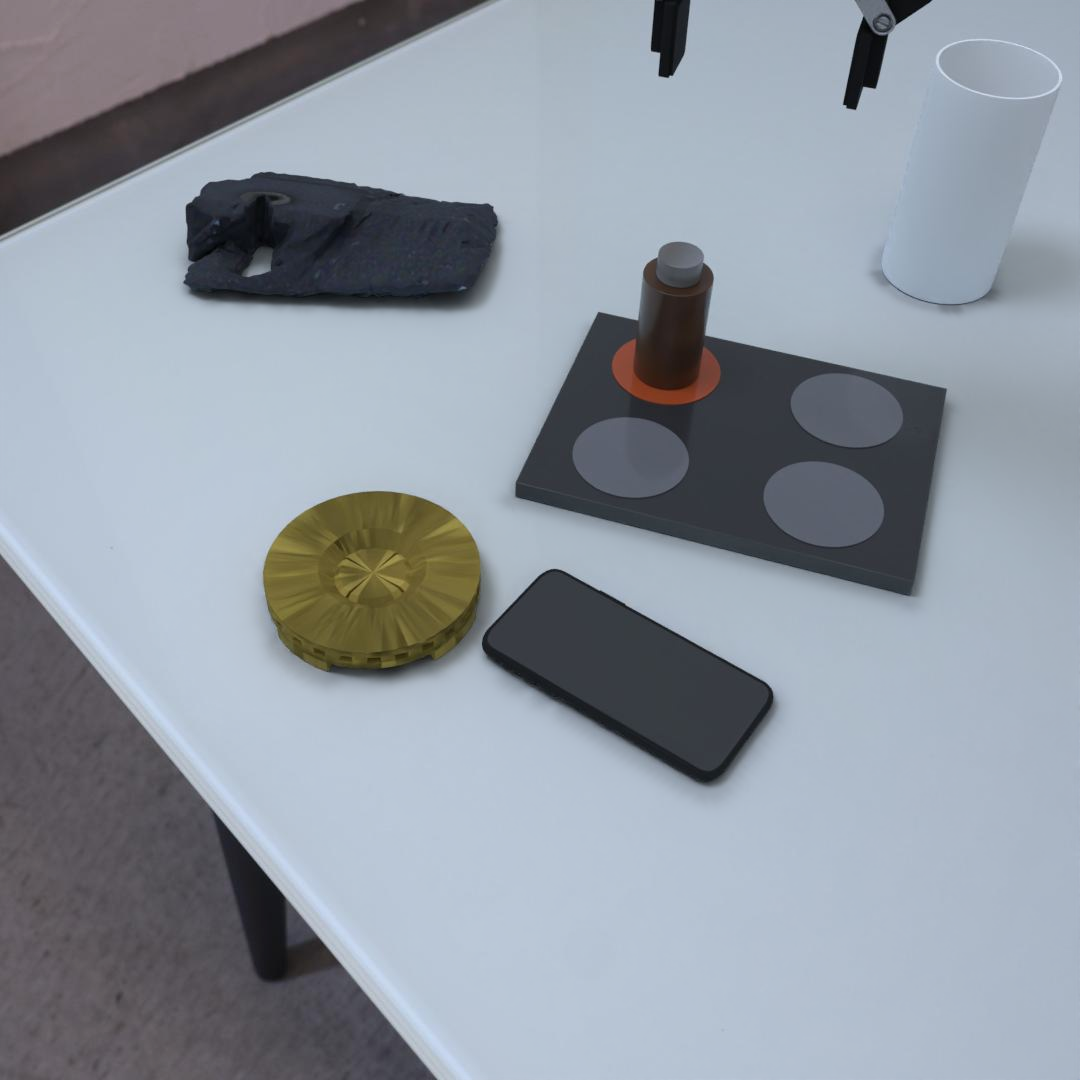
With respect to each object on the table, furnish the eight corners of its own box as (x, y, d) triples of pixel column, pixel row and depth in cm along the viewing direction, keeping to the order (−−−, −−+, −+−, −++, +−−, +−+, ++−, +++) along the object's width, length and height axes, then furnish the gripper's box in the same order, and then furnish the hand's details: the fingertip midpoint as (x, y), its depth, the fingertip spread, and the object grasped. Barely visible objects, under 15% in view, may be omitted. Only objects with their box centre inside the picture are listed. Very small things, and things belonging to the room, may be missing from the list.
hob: (942, 402, 87) (947, 387, 86) (909, 595, 75) (915, 580, 74) (597, 325, 92) (598, 310, 91) (514, 496, 80) (515, 481, 79)
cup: (879, 234, 101) (931, 33, 89) (987, 245, 100) (1054, 44, 88) (883, 297, 95) (939, 92, 83) (998, 310, 94) (1071, 105, 83)
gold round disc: (493, 665, 71) (493, 640, 69) (269, 688, 70) (264, 663, 68) (467, 508, 79) (467, 482, 78) (266, 526, 78) (261, 500, 76)
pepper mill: (706, 356, 88) (724, 242, 81) (690, 396, 85) (708, 281, 78) (642, 342, 89) (655, 227, 82) (625, 381, 86) (637, 266, 79)
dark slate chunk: (472, 332, 91) (472, 275, 87) (165, 296, 93) (153, 238, 89) (508, 210, 101) (509, 155, 98) (232, 180, 103) (223, 124, 99)
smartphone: (714, 784, 65) (472, 641, 71) (711, 794, 66) (472, 652, 71) (783, 687, 70) (550, 560, 75) (779, 698, 70) (549, 571, 76)
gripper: (1031, -298, 57) (936, 77, 69) (644, -339, 60) (620, 25, 72) (1019, -249, 52) (920, 145, 64) (599, -296, 55) (581, 86, 68)
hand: (761, 81), depth 68 cm, fingers open, 9 cm apart
